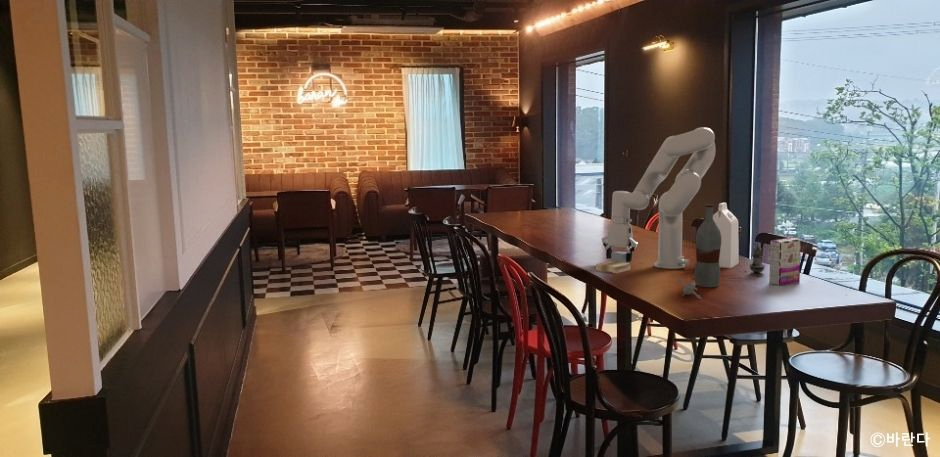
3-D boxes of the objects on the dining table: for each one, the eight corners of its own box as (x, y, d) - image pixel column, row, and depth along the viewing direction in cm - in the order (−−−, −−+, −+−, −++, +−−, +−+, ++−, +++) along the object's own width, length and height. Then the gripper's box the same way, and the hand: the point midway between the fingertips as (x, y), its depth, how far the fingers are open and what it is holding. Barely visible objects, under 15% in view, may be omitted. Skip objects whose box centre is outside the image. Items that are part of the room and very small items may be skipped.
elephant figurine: (703, 295, 252) (708, 291, 243) (691, 307, 251) (696, 304, 242) (680, 275, 254) (685, 271, 245) (669, 288, 253) (673, 284, 245)
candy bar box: (788, 280, 272) (790, 237, 270) (799, 282, 267) (802, 239, 265) (767, 283, 267) (769, 240, 264) (779, 286, 262) (781, 241, 260)
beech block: (630, 270, 297) (630, 263, 296) (616, 274, 290) (616, 267, 289) (609, 267, 304) (609, 260, 303) (596, 271, 297) (596, 264, 296)
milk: (711, 260, 313) (713, 201, 309) (738, 263, 306) (740, 202, 303) (702, 265, 303) (704, 204, 300) (730, 268, 297) (732, 205, 293)
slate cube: (629, 265, 306) (629, 252, 305) (622, 267, 302) (622, 254, 301) (618, 263, 310) (618, 251, 309) (611, 265, 306) (611, 253, 305)
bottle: (688, 283, 269) (690, 203, 264) (707, 281, 272) (710, 202, 268) (706, 288, 260) (708, 206, 256) (725, 286, 264) (728, 204, 259)
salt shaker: (765, 273, 285) (766, 243, 283) (764, 276, 279) (765, 246, 278) (749, 272, 287) (750, 242, 285) (748, 275, 282) (749, 245, 280)
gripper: (643, 221, 300) (641, 261, 302) (608, 217, 312) (606, 256, 314) (633, 223, 294) (631, 264, 297) (598, 219, 306) (596, 258, 309)
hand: (618, 260), depth 306 cm, fingers open, 9 cm apart
